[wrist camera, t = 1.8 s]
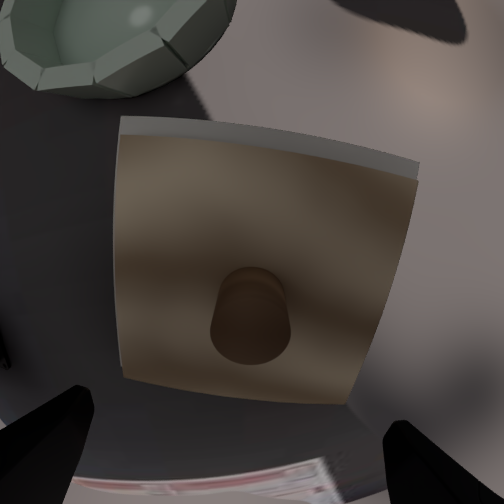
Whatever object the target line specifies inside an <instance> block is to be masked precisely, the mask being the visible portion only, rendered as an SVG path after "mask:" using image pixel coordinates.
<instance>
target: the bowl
mask: <svg viewBox="0 0 504 504" xmlns="http://www.w3.org/2000/svg"><path fill="white" fill-rule="evenodd" d="M236 2H237V0H5V1H4V3H3V6H2V9H1V12H0V53H1V59H2V65H5V66H4V68H6V69H7V70H8V71H10V72H11V73H12V74H14V75H15V76H16V77H18V78H19V79H20V80H22V81H23V82H24V83H26V84H27V85H28V86H30V87H31V88H32V89H34V90H37V91H43V92H49V93H55V94H61V95H66V96H72V97H77V98H82V99H92V98H100V99H120V98H132V96H135V97H136V96H138V95H141V94H144V93H147V92H150V91H153V90H155V89H157V88H159V87H162V86H164V85H166V84H168V83H170V82H171V81H173V80H175V79H177V78H178V77H180V76H181V75H183V74H184V73H186V72H187V71H189V70H190V69H191V68H193V67H194V66H195V65H196V64H197V63H199V62H200V61H201V60H202V59H203V58H204V57H205V56H206V55H207V54H208V53H209V52H210V51H211V50H212V48H213V47H214V46H215V45H216V44H217V42H218V41H219V40H220V39H221V37H222V35H223V34H224V32H225V31H226V29H227V27H228V26H229V23H230V22H231V20H232V17H233V13H234V10H235V6H236Z"/></svg>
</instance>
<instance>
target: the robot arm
mask: <svg viewBox="0 0 504 504" xmlns="http://www.w3.org/2000/svg"><path fill="white" fill-rule="evenodd" d="M0 367H1V368H4V369H6V370H8V369H9V368H10V367H11V366H10V363H9V360H8V357H7V354H6V351H5V348H4V345H3V342H2V339H1V335H0ZM93 414H94V404H93V400H92V396H91V392H90V390H89V389H88V388H86V387H83V386H80V385H75V386H73V387H71V388H70V389H68V390H66V391H65V392H63V393H61V394H60V395H58V396H56V397H55V398H53V399H52V400H50V401H48V402H47V403H45V404H43V405H42V406H40V407H38V408H37V409H35V410H33V411H32V412H30V413H28V414H27V415H25V416H23V417H21V418H20V419H18V420H16V421H15V422H13V423H11V424H10V425H8V426H6V427H5V428H3V429H1V430H0V504H62V503H63V500H64V498H65V495H66V493H67V490H68V488H69V485H70V482H71V480H72V477H73V475H74V472H75V470H76V467H77V465H78V463H79V460H80V458H81V455H82V452H83V449H84V445H85V442H86V438H87V435H88V431H89V428H90V424H91V421H92V418H93ZM383 453H384V462H385V473H386V482H387V488H388V492H389V497H390V503H391V504H504V499H503V498H502V497H500V496H499V495H497V494H496V493H494V492H493V491H492V490H490V489H489V488H488V487H487V486H485V485H484V484H483V483H481V482H480V481H478V479H476V478H475V477H474V476H473V475H472V474H470V473H469V472H468V471H467V470H465V469H464V468H463V467H462V466H461V465H459V464H458V463H457V462H456V461H455V460H453V459H452V458H451V457H450V456H449V455H447V454H446V453H445V452H444V451H443V450H441V449H440V448H439V447H438V446H437V445H435V444H434V443H433V442H432V441H430V440H429V439H428V438H427V437H426V436H425V435H424V434H422V433H421V432H420V431H419V430H418V429H417V428H415V427H414V426H413V425H412V424H410V422H408V421H407V420H398V421H394V422H393V423H392V425H391V426H390V428H389V429H388V431H387V432H386V434H385V435H384V438H383Z"/></svg>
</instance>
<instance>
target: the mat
mask: <svg viewBox="0 0 504 504" xmlns="http://www.w3.org/2000/svg"><path fill="white" fill-rule="evenodd" d="M120 134H122V135H145V136H162V137H175V138H187V139H198V140H208V141H217V142H226V143H234V144H242V145H249V146H256V147H263V148H270V149H276V150H282V151H288V152H294V153H300V154H305V155H311V156H316V157H321V158H326V159H331V160H336V161H341V162H346V163H350V164H355V165H359V166H363V167H368V168H372V169H376V170H380V171H384V172H388V173H392V174H396V175H400V176H404V177H407V178H411V179H414V180H417V175H418V169H419V162H416V161H413V160H410V159H406V158H403V157H399V156H396V155H392V154H388V153H385V152H381V151H377V150H374V149H369V148H366V147H361V146H357V145H353V144H348V143H345V142H340V141H336V140H330V139H326V138H321V137H316V136H311V135H306V134H300V133H295V132H289V131H283V130H277V129H271V128H264V127H257V126H250V125H242V124H234V123H226V122H217V121H207V120H196V119H183V118H167V117H146V116H121V120H120V128H119V137H118V147H117V158H116V171H115V187H114V210H113V271H114V295H115V311H116V324H117V335H118V345H119V354H120V362H121V366H122V360H121V352H120V342H119V332H118V320H117V306H116V287H115V248H114V237H115V197H116V179H117V165H118V153H119V143H120Z"/></svg>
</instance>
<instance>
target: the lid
mask: <svg viewBox="0 0 504 504" xmlns="http://www.w3.org/2000/svg"><path fill="white" fill-rule="evenodd" d="M417 186H418V180H414V179H411V178H407V177H404V176H400V175H396V174H392V173H388V172H384V171H380V170H376V169H372V168H368V167H363V166H359V165H355V164H350V163H346V162H341V161H336V160H331V159H326V158H321V157H316V156H311V155H305V154H300V153H294V152H288V151H282V150H276V149H270V148H263V147H256V146H249V145H242V144H234V143H226V142H217V141H208V140H198V139H187V138H175V137H162V136H145V135H122V134H120V143H119V153H118V165H117V179H116V197H115V237H114V248H115V287H116V306H117V320H118V332H119V342H120V352H121V360H122V368H123V376H124V377H125V378H129V379H133V380H137V381H142V382H146V383H151V384H155V385H160V386H165V387H170V388H176V389H181V390H187V391H193V392H199V393H205V394H212V395H219V396H226V397H234V398H243V399H252V400H262V401H274V402H288V403H307V404H345V403H346V401H347V399H348V396H349V394H350V392H351V390H352V388H353V385H354V383H355V381H356V379H357V376H358V374H359V372H360V369H361V367H362V364H363V362H364V360H365V357H366V355H367V352H368V350H369V347H370V345H371V342H372V339H373V337H374V334H375V332H376V329H377V327H378V324H379V321H380V318H381V316H382V313H383V310H384V307H385V304H386V301H387V298H388V295H389V292H390V289H391V286H392V283H393V280H394V276H395V273H396V270H397V266H398V263H399V260H400V255H401V253H402V249H403V245H404V242H405V238H406V234H407V230H408V226H409V222H410V218H411V214H412V209H413V205H414V200H415V196H416V191H417Z"/></svg>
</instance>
